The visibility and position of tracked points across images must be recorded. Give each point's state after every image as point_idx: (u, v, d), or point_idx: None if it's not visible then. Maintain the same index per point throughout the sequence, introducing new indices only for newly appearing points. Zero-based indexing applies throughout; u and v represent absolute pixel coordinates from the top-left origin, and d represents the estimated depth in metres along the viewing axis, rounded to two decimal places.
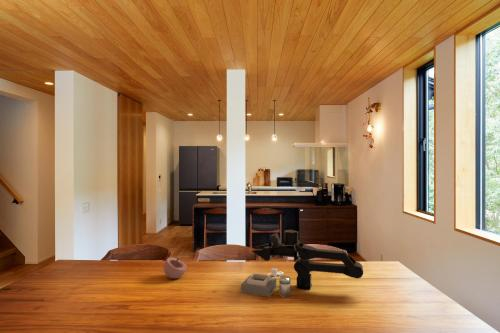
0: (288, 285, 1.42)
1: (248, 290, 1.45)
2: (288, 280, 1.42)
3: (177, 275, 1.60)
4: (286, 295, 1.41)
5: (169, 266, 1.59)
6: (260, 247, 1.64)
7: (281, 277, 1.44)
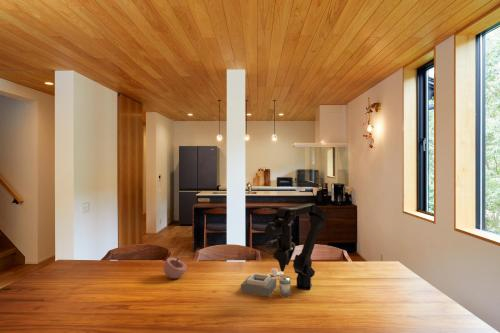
0: (288, 285, 1.42)
1: (248, 290, 1.45)
2: (288, 280, 1.42)
3: (177, 275, 1.60)
4: (286, 295, 1.41)
5: (169, 266, 1.59)
6: (287, 262, 1.48)
7: (281, 277, 1.44)
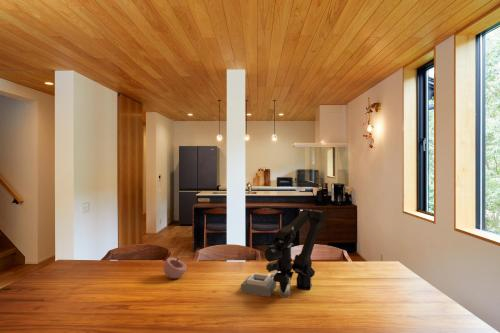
0: (288, 285, 1.42)
1: (248, 290, 1.45)
2: None
3: (177, 275, 1.60)
4: (286, 295, 1.41)
5: (169, 266, 1.59)
6: None
7: None
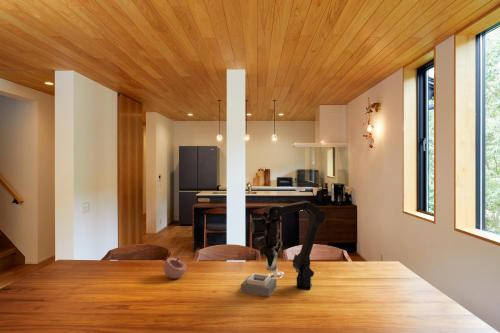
0: (275, 259, 1.44)
1: (248, 290, 1.45)
2: None
3: (177, 275, 1.60)
4: (273, 269, 1.44)
5: (169, 266, 1.59)
6: None
7: None
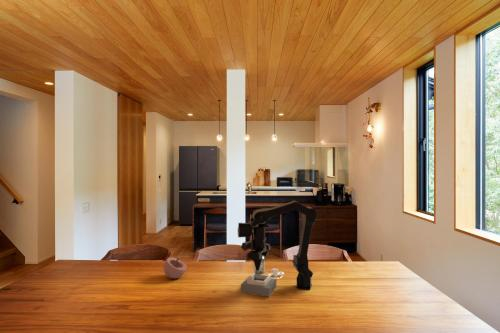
0: (262, 263, 1.47)
1: (248, 290, 1.45)
2: None
3: (177, 275, 1.60)
4: (260, 273, 1.47)
5: (169, 266, 1.59)
6: None
7: None
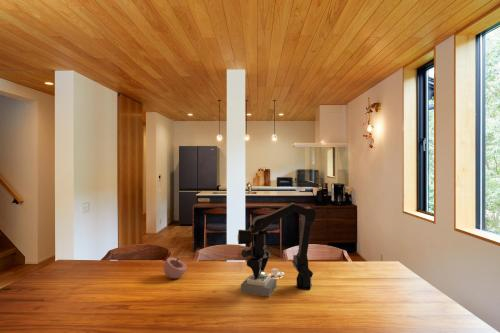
0: (263, 279, 1.48)
1: (248, 290, 1.45)
2: (263, 274, 1.47)
3: (177, 275, 1.60)
4: None
5: (169, 266, 1.59)
6: (262, 269, 1.53)
7: None
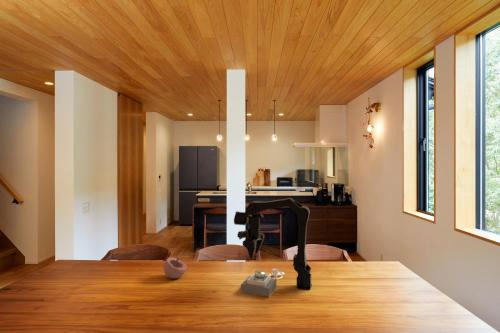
0: (263, 279, 1.47)
1: (248, 290, 1.45)
2: (263, 274, 1.47)
3: (177, 275, 1.60)
4: None
5: (169, 266, 1.59)
6: (256, 251, 1.64)
7: (256, 272, 1.49)
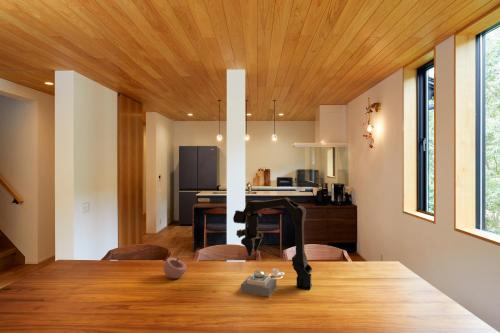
0: (263, 279, 1.48)
1: (248, 290, 1.45)
2: (262, 274, 1.48)
3: (177, 275, 1.60)
4: None
5: (169, 266, 1.59)
6: (255, 249, 1.68)
7: (255, 272, 1.49)
